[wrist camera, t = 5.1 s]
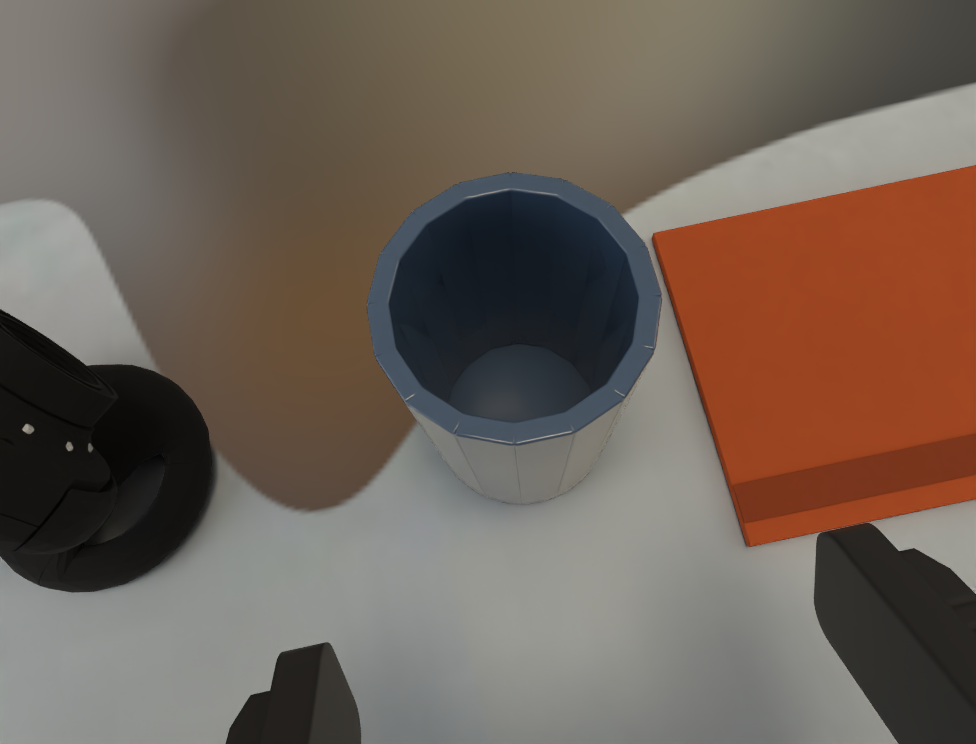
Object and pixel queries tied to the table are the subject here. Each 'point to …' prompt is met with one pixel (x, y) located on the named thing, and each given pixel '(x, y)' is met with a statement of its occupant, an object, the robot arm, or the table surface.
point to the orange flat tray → (836, 351)
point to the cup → (515, 329)
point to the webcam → (90, 462)
